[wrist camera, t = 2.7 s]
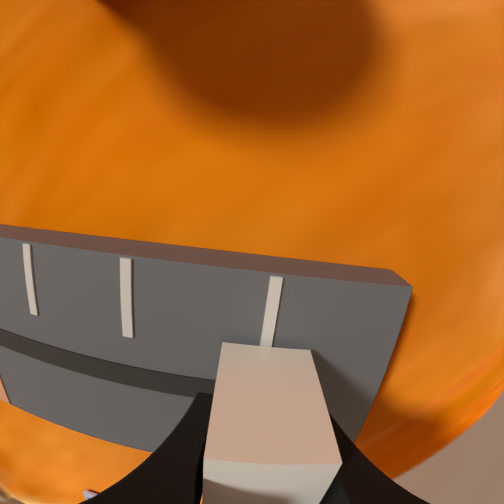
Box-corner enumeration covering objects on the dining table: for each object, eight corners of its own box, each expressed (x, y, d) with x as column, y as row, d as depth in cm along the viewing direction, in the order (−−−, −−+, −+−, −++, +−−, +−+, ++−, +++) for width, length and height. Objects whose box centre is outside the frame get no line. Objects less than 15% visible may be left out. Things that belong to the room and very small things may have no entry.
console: (335, 439, 15) (342, 467, 13) (-41, 353, 14) (-57, 366, 12) (391, 269, 12) (414, 288, 10) (-67, 216, 11) (-89, 222, 9)
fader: (284, 442, 12) (294, 540, 7) (214, 437, 12) (202, 536, 7) (309, 349, 10) (342, 463, 6) (222, 341, 10) (203, 458, 5)
